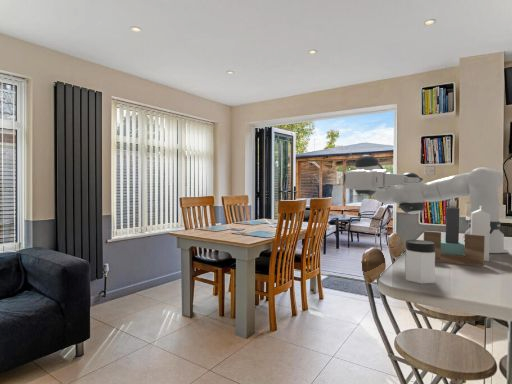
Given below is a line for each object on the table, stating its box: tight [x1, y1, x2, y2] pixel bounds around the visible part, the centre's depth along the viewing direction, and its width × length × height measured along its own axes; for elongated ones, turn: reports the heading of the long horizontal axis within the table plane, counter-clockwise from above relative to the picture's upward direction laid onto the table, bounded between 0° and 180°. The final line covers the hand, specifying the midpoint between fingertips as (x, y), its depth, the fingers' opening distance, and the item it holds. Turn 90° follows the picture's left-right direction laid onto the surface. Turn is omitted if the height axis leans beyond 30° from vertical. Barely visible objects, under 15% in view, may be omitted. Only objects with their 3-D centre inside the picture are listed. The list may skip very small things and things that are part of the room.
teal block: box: [441, 239, 465, 256], centre depth 130 cm, size 8×8×7 cm
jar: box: [404, 239, 436, 285], centre depth 100 cm, size 9×8×12 cm
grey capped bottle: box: [444, 200, 460, 244], centre depth 130 cm, size 4×4×17 cm
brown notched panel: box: [423, 230, 485, 267], centre depth 125 cm, size 2×20×12 cm, turn 61°
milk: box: [470, 206, 490, 262], centre depth 132 cm, size 6×6×22 cm
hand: (419, 180), depth 127 cm, fingers open, 8 cm apart
